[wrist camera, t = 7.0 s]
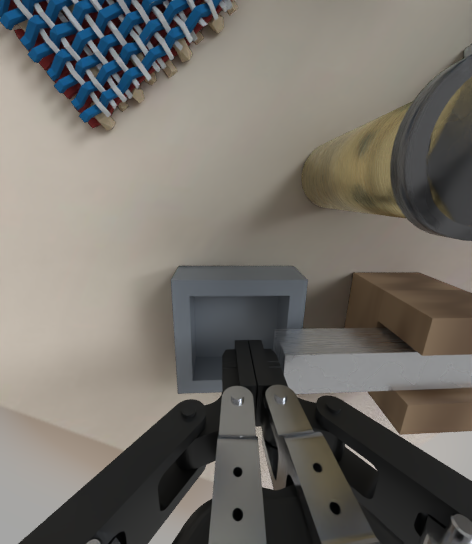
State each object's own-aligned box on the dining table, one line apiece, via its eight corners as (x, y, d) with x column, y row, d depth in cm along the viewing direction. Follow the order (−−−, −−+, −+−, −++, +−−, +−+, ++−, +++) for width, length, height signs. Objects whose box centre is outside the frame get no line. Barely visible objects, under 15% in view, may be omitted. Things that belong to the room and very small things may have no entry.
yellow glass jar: (375, 135, 15) (628, 40, 6) (361, 214, 17) (548, 241, 7) (299, 132, 15) (437, 27, 6) (292, 213, 16) (392, 239, 7)
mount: (418, 272, 18) (532, 317, 12) (398, 353, 20) (485, 430, 14) (353, 272, 18) (432, 318, 11) (339, 354, 20) (399, 434, 13)
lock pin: (582, 307, 17) (691, 341, 13) (558, 358, 18) (651, 403, 14) (272, 311, 15) (291, 350, 11) (268, 366, 16) (284, 418, 12)
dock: (293, 265, 18) (307, 279, 15) (284, 361, 20) (295, 389, 17) (178, 265, 17) (170, 280, 14) (183, 364, 19) (177, 393, 17)
